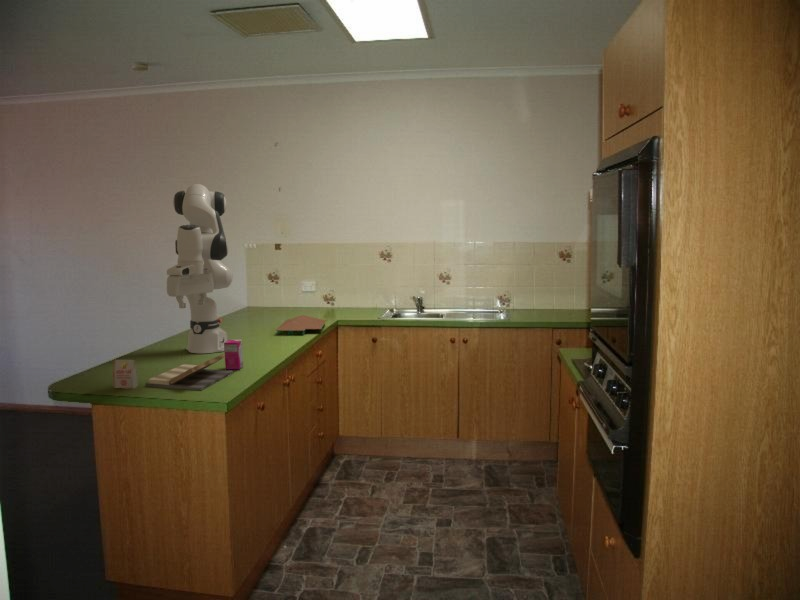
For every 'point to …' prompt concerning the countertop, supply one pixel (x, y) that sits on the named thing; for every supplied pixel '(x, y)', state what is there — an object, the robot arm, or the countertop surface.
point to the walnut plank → (196, 369)
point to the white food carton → (125, 374)
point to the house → (301, 324)
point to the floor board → (188, 378)
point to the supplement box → (233, 354)
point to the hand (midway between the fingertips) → (192, 306)
